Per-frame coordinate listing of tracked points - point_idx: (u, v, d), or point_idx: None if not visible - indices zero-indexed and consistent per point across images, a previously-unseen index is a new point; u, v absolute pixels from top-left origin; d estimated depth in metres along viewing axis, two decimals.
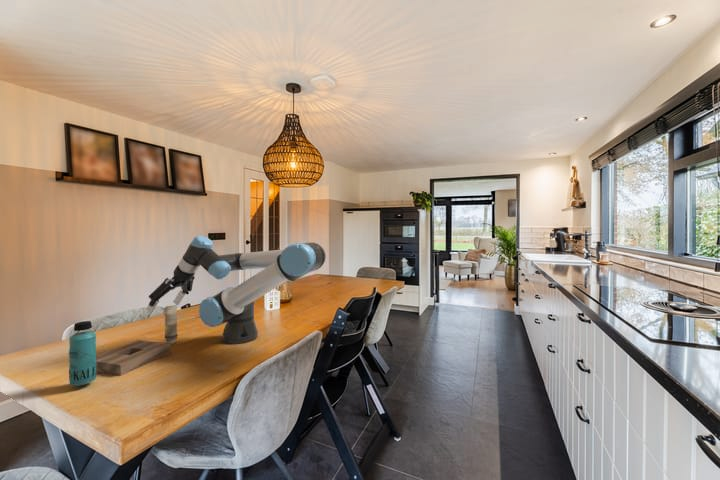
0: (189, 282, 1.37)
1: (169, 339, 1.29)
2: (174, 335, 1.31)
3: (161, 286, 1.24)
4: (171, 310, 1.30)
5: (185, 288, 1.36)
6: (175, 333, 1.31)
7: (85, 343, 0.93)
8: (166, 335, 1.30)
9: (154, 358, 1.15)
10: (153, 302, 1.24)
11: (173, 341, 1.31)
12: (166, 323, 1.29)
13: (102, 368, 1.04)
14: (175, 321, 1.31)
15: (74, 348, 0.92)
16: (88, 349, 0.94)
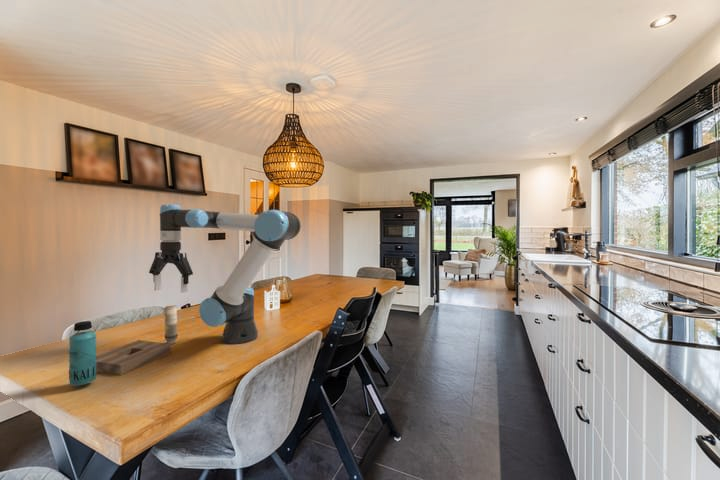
0: (159, 260, 1.33)
1: (169, 339, 1.29)
2: (174, 335, 1.31)
3: (184, 261, 1.28)
4: (171, 310, 1.30)
5: None
6: (175, 333, 1.31)
7: (85, 343, 0.93)
8: (166, 335, 1.30)
9: (154, 358, 1.15)
10: (188, 278, 1.30)
11: (173, 341, 1.31)
12: (166, 323, 1.29)
13: (102, 368, 1.04)
14: (175, 321, 1.31)
15: (74, 348, 0.92)
16: (88, 349, 0.94)
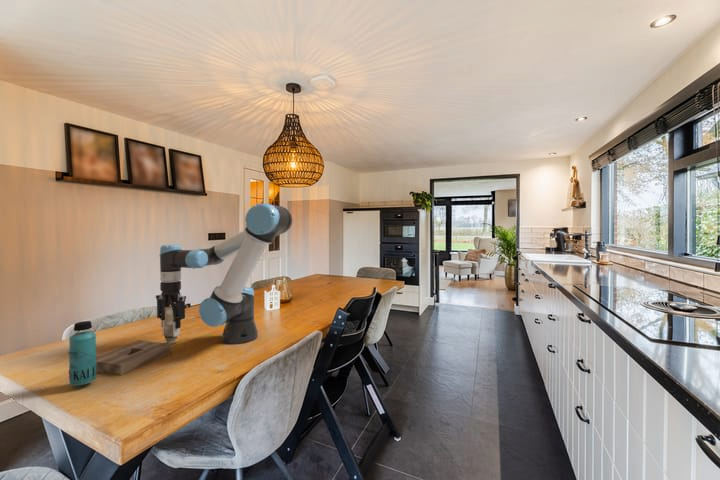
0: (162, 302, 1.33)
1: (169, 339, 1.29)
2: None
3: (181, 305, 1.29)
4: (171, 310, 1.30)
5: None
6: None
7: (85, 343, 0.93)
8: (166, 335, 1.30)
9: (154, 358, 1.15)
10: (180, 322, 1.31)
11: (173, 341, 1.31)
12: (166, 323, 1.29)
13: (102, 368, 1.04)
14: None
15: (74, 348, 0.92)
16: (88, 349, 0.94)
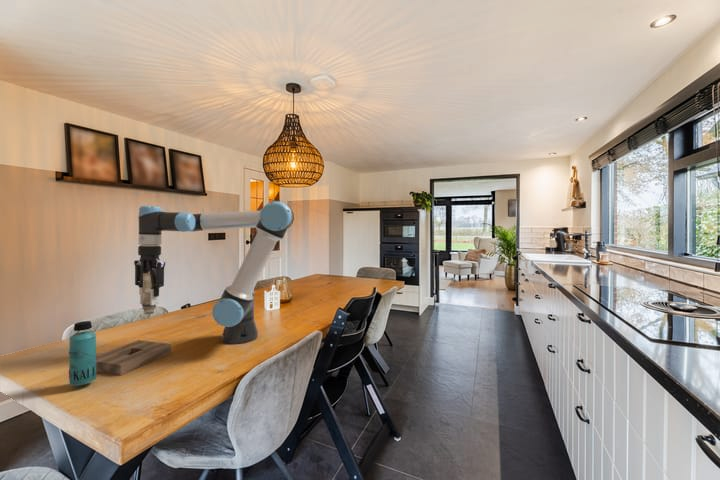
0: None
1: (146, 308, 1.20)
2: None
3: (160, 272, 1.20)
4: (149, 276, 1.20)
5: None
6: None
7: (85, 343, 0.93)
8: (143, 303, 1.20)
9: (154, 358, 1.15)
10: (158, 290, 1.21)
11: (151, 310, 1.21)
12: (143, 290, 1.20)
13: (102, 368, 1.04)
14: None
15: (74, 348, 0.92)
16: (88, 349, 0.94)
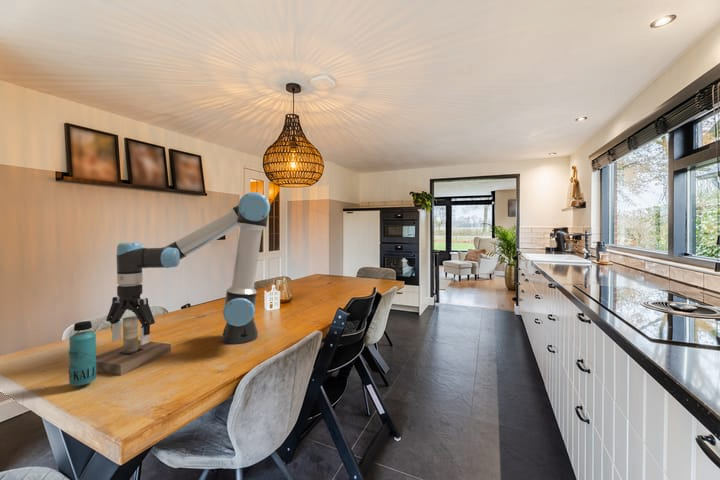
0: (118, 306, 1.16)
1: None
2: (134, 351, 1.13)
3: (145, 308, 1.11)
4: (130, 322, 1.12)
5: None
6: (135, 348, 1.14)
7: (85, 343, 0.93)
8: (124, 351, 1.12)
9: (154, 358, 1.15)
10: (149, 328, 1.13)
11: None
12: (124, 337, 1.12)
13: (102, 368, 1.04)
14: (135, 335, 1.14)
15: (74, 348, 0.92)
16: (88, 349, 0.94)
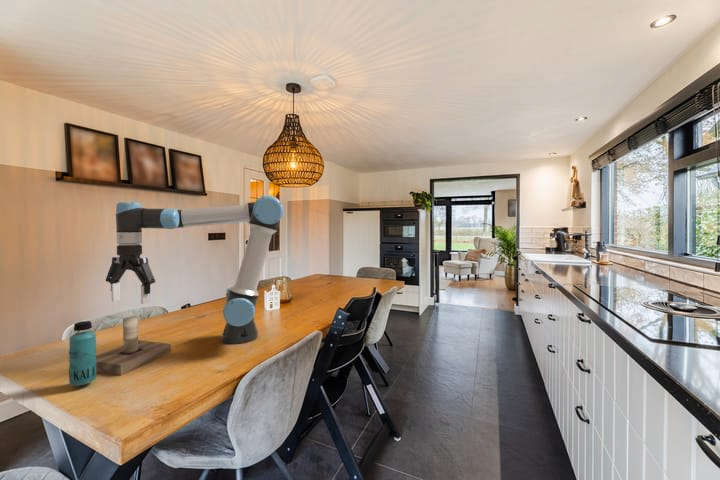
0: (117, 266, 1.15)
1: None
2: (134, 351, 1.13)
3: (145, 267, 1.11)
4: (130, 322, 1.12)
5: None
6: (135, 348, 1.14)
7: (85, 343, 0.93)
8: (124, 351, 1.12)
9: (154, 358, 1.15)
10: None
11: None
12: (124, 337, 1.12)
13: (102, 368, 1.04)
14: (135, 335, 1.14)
15: (74, 348, 0.92)
16: (88, 349, 0.94)
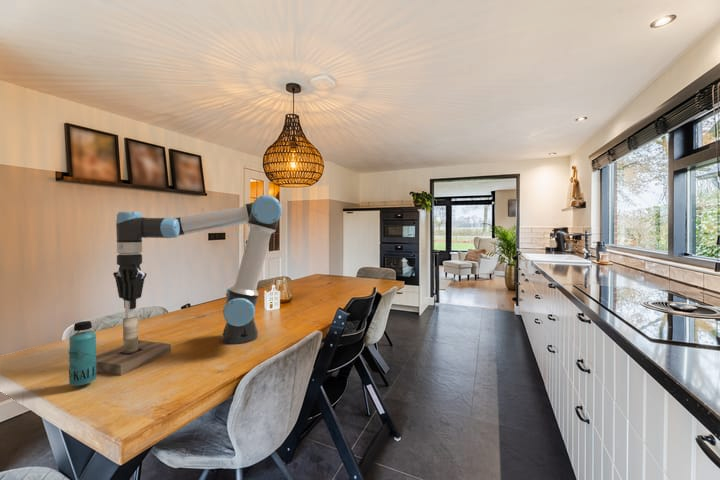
0: None
1: None
2: (134, 351, 1.13)
3: (139, 283, 1.12)
4: (130, 322, 1.12)
5: None
6: (135, 349, 1.14)
7: (85, 343, 0.93)
8: (124, 351, 1.12)
9: (154, 358, 1.15)
10: (135, 302, 1.14)
11: None
12: (124, 337, 1.12)
13: (102, 368, 1.04)
14: (135, 335, 1.14)
15: (74, 348, 0.92)
16: (88, 349, 0.94)
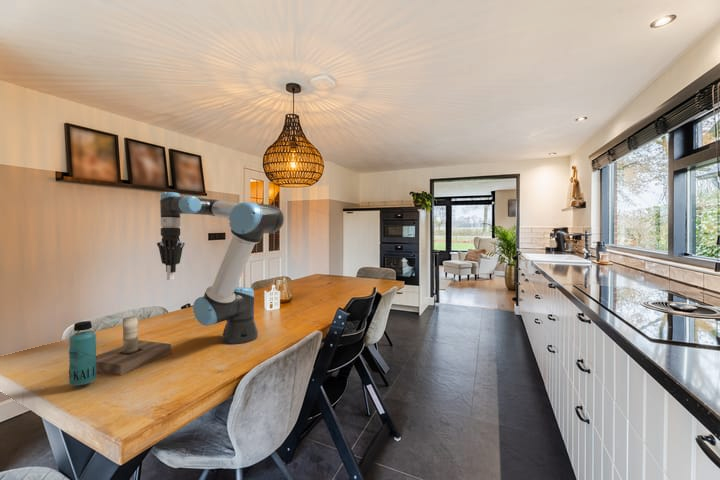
0: None
1: None
2: (134, 351, 1.13)
3: (179, 251, 1.36)
4: (130, 322, 1.12)
5: None
6: (135, 348, 1.14)
7: (85, 343, 0.93)
8: (124, 351, 1.12)
9: (154, 358, 1.15)
10: (175, 267, 1.38)
11: None
12: (124, 337, 1.12)
13: (102, 368, 1.04)
14: (135, 335, 1.14)
15: (74, 348, 0.92)
16: (88, 349, 0.94)
